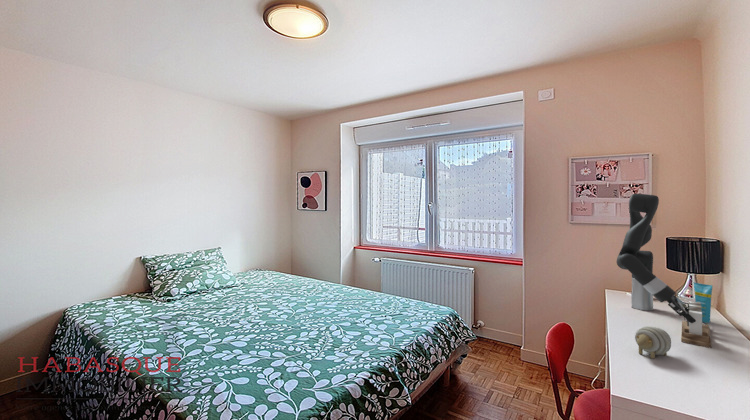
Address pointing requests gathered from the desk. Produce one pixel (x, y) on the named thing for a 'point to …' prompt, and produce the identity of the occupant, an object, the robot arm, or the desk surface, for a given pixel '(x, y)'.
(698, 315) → the grey finger
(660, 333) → the toy sheep
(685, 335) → the rail
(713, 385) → the desk surface
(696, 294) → the tube
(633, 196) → the robot arm
